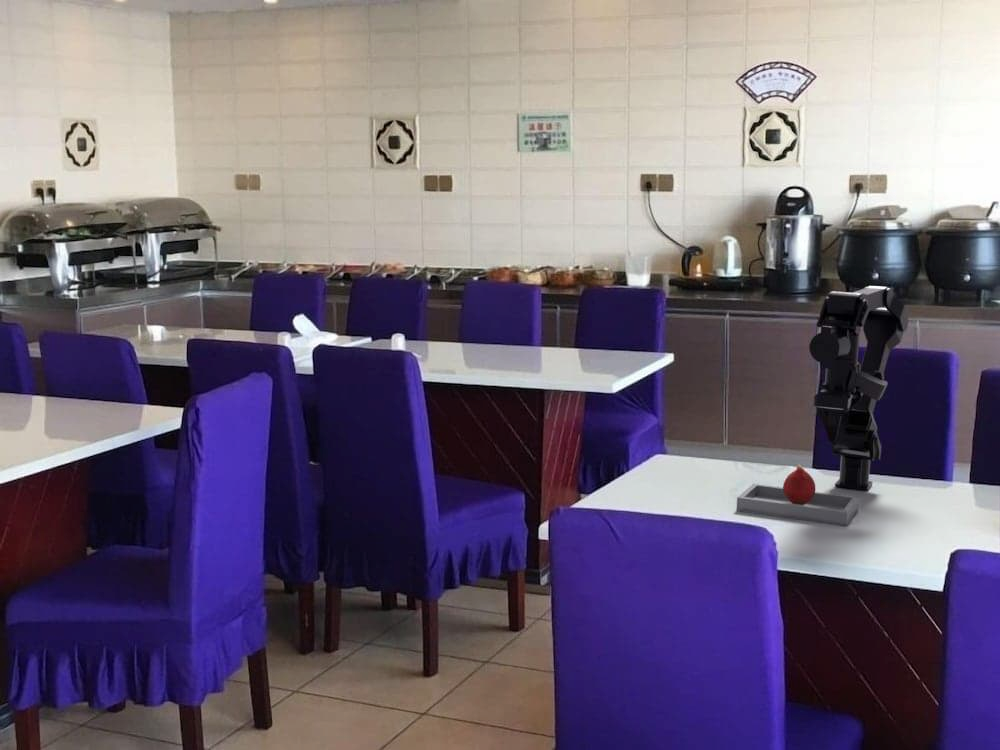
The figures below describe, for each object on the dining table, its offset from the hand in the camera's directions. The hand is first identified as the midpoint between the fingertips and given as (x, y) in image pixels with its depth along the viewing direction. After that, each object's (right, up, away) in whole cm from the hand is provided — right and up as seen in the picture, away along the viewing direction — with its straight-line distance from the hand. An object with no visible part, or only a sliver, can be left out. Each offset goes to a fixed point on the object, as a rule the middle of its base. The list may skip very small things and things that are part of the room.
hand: (836, 437), depth 233 cm
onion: (-9, -13, -8) cm, 18 cm away
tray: (-10, -13, -8) cm, 18 cm away
